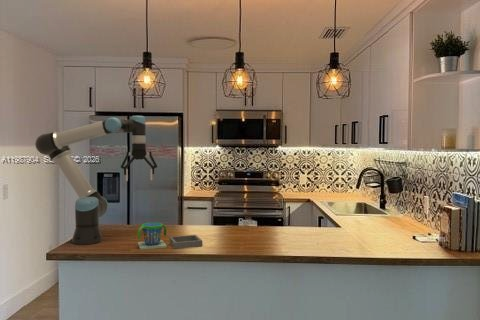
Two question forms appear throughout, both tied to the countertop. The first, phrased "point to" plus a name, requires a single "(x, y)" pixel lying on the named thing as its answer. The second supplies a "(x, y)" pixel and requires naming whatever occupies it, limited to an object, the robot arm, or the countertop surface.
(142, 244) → the mat
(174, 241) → the square frame
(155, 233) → the snack cup
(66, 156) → the robot arm
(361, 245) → the countertop surface
